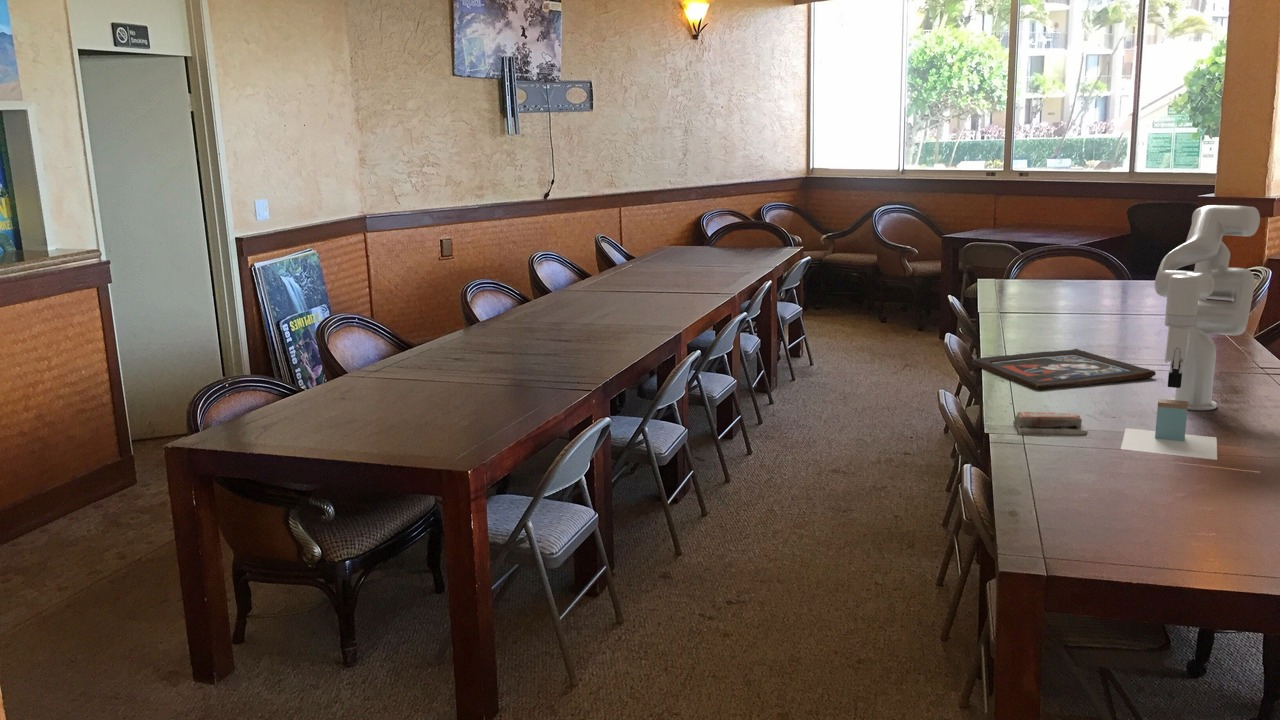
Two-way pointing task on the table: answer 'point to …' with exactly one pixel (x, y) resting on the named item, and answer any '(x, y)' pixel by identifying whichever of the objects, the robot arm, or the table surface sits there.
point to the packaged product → (1049, 423)
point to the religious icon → (1061, 369)
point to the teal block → (1171, 419)
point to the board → (1170, 444)
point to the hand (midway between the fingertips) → (1174, 386)
